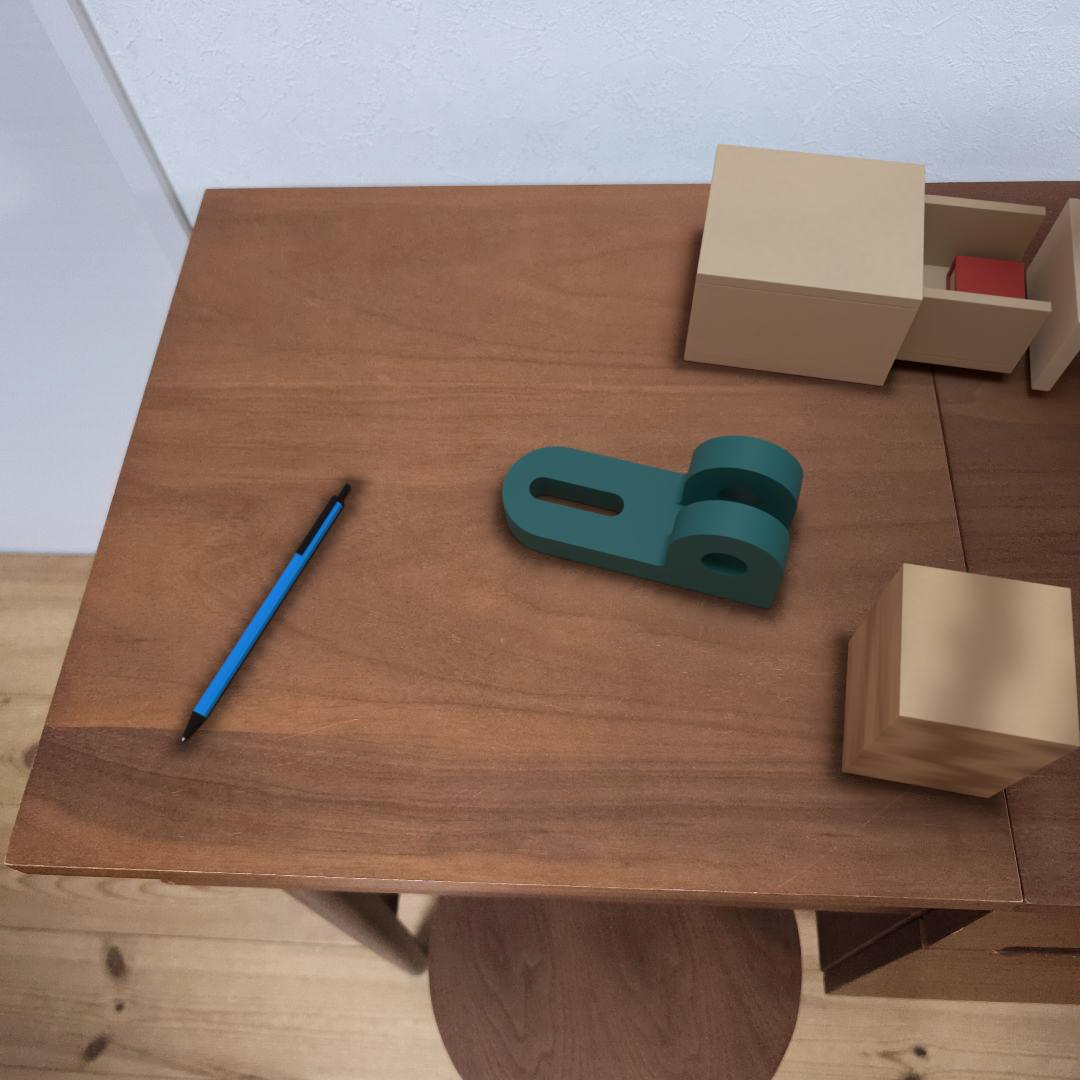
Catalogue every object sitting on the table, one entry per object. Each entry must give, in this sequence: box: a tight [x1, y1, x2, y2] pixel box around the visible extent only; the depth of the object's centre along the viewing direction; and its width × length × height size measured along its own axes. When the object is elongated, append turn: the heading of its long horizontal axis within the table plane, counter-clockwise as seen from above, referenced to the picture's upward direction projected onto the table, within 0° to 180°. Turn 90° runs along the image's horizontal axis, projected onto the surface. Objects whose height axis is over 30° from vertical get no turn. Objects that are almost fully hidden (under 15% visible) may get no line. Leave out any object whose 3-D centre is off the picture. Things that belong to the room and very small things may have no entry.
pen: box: [181, 483, 351, 742], centre depth 59 cm, size 1×19×1 cm, turn 155°
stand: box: [841, 562, 1080, 799], centre depth 50 cm, size 8×8×11 cm
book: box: [946, 255, 1026, 299], centre depth 64 cm, size 4×6×2 cm
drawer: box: [895, 193, 1080, 392], centre depth 63 cm, size 18×11×7 cm, turn 79°
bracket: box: [501, 434, 804, 610], centre depth 58 cm, size 18×7×8 cm, turn 73°
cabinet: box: [683, 143, 926, 387], centre depth 65 cm, size 14×12×9 cm
